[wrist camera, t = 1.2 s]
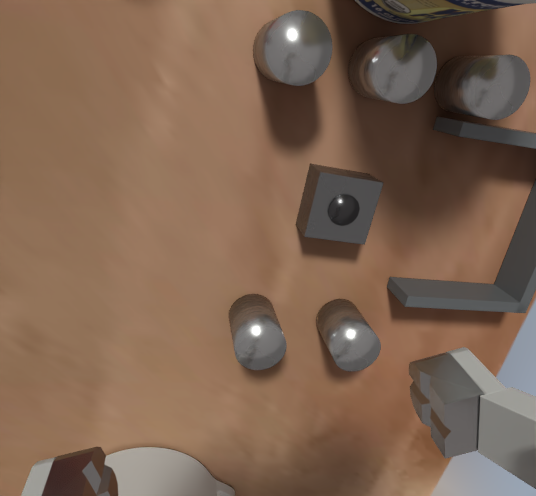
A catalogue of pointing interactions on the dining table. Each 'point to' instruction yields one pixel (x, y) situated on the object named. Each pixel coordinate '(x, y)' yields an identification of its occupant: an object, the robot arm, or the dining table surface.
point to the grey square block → (338, 204)
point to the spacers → (377, 87)
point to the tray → (515, 262)
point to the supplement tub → (431, 8)
